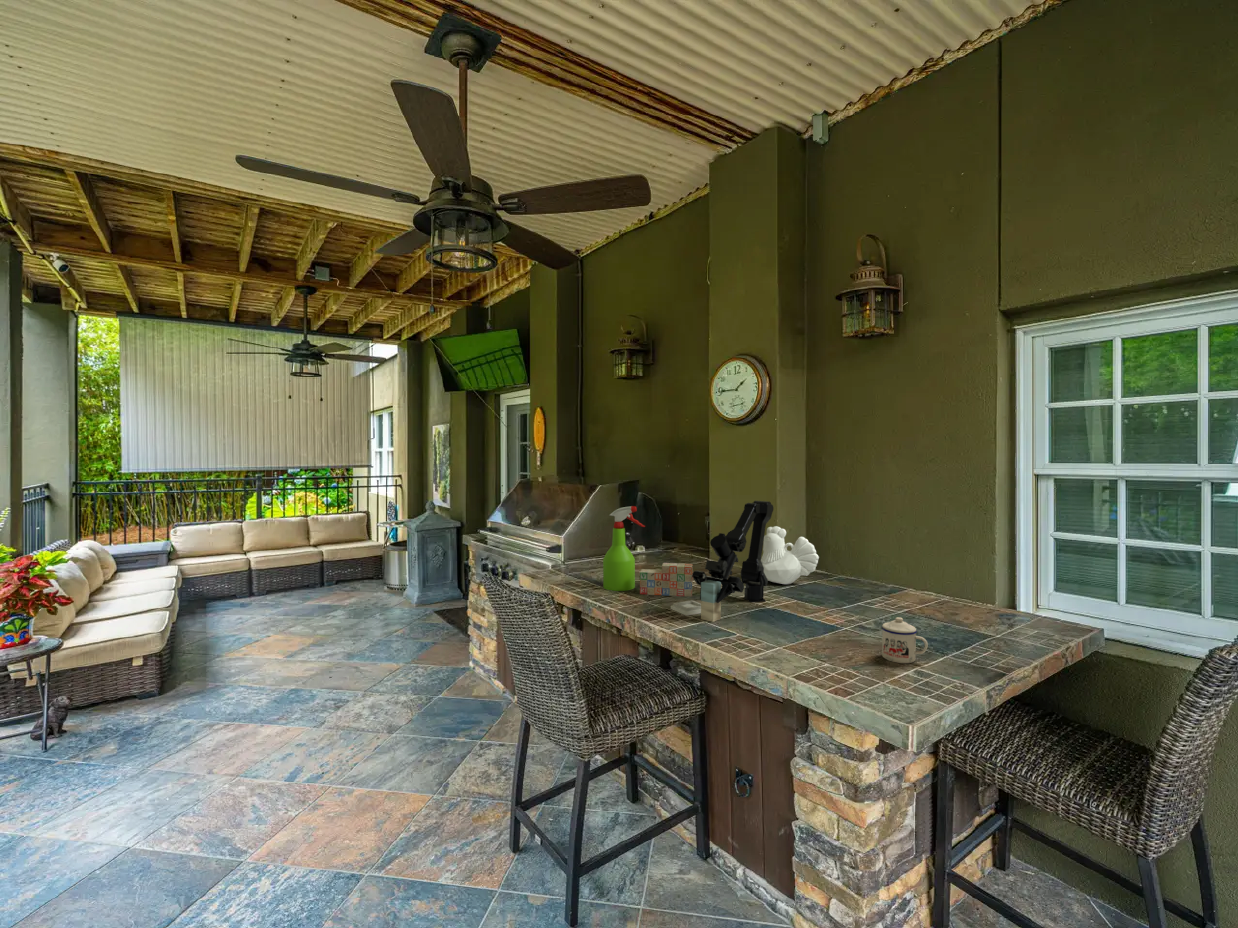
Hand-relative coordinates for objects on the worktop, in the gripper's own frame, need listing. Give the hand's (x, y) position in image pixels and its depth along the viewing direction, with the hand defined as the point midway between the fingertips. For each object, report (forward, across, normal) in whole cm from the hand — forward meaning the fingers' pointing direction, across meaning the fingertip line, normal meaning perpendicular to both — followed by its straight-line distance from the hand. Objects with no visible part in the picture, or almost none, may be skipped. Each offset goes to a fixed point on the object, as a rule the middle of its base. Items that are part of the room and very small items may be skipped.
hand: (708, 601), depth 210 cm
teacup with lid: (+3, +63, +6) cm, 63 cm away
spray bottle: (-8, -53, +17) cm, 56 cm away
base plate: (+1, -12, +9) cm, 15 cm away
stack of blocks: (-10, -33, +20) cm, 39 cm away
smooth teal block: (+4, 0, +6) cm, 7 cm away
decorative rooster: (-43, -1, +53) cm, 68 cm away
